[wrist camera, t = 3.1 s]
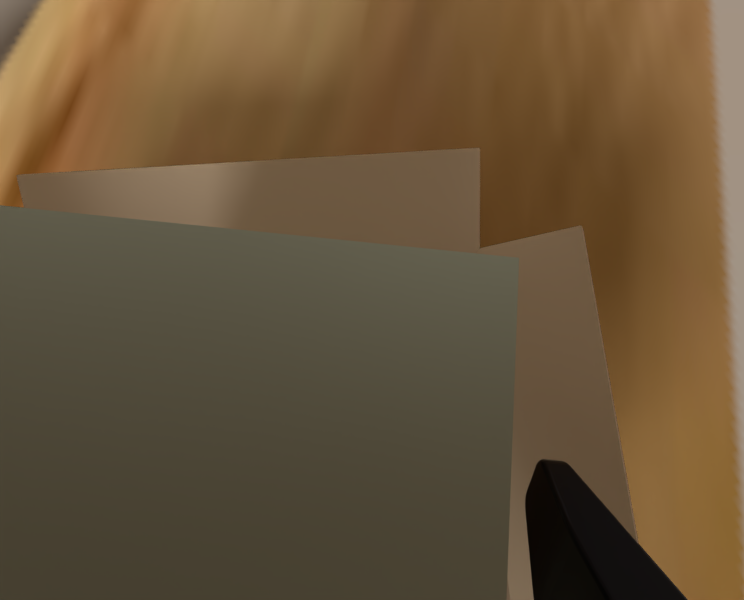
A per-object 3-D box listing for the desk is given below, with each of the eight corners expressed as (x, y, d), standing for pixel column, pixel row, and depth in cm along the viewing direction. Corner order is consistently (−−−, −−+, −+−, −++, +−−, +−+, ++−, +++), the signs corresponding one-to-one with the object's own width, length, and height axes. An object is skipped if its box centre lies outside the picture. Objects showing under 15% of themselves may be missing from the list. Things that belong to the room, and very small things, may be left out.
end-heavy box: (375, 580, 15) (472, 1487, 2) (191, 561, 15) (-813, 1357, 2) (391, 393, 16) (518, 256, 3) (221, 376, 16) (-311, 173, 3)
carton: (568, 659, 14) (689, 790, 9) (29, 711, 14) (-173, 884, 9) (507, 225, 17) (572, 136, 12) (55, 255, 17) (-85, 174, 11)
